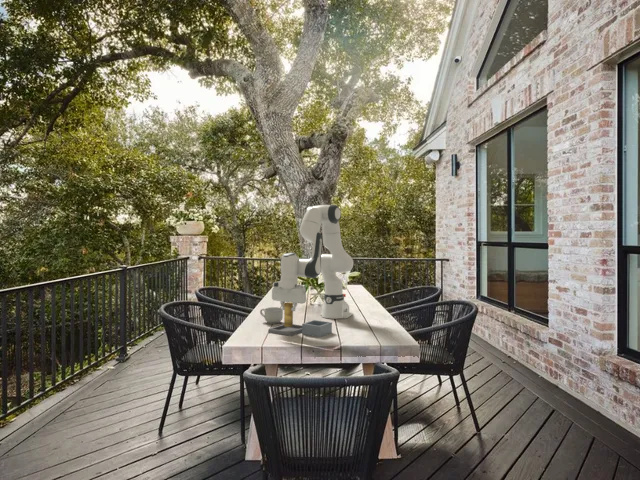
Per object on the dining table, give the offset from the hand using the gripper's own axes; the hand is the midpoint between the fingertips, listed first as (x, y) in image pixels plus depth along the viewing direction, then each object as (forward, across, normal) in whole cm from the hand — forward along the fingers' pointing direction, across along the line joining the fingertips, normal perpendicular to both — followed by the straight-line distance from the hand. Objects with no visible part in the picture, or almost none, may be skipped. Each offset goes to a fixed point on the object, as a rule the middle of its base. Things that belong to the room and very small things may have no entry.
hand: (288, 310), depth 211 cm
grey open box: (+12, -15, -4) cm, 19 cm away
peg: (+8, 0, 0) cm, 8 cm away
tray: (+12, 0, 0) cm, 12 cm away
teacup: (+12, +23, -14) cm, 29 cm away
